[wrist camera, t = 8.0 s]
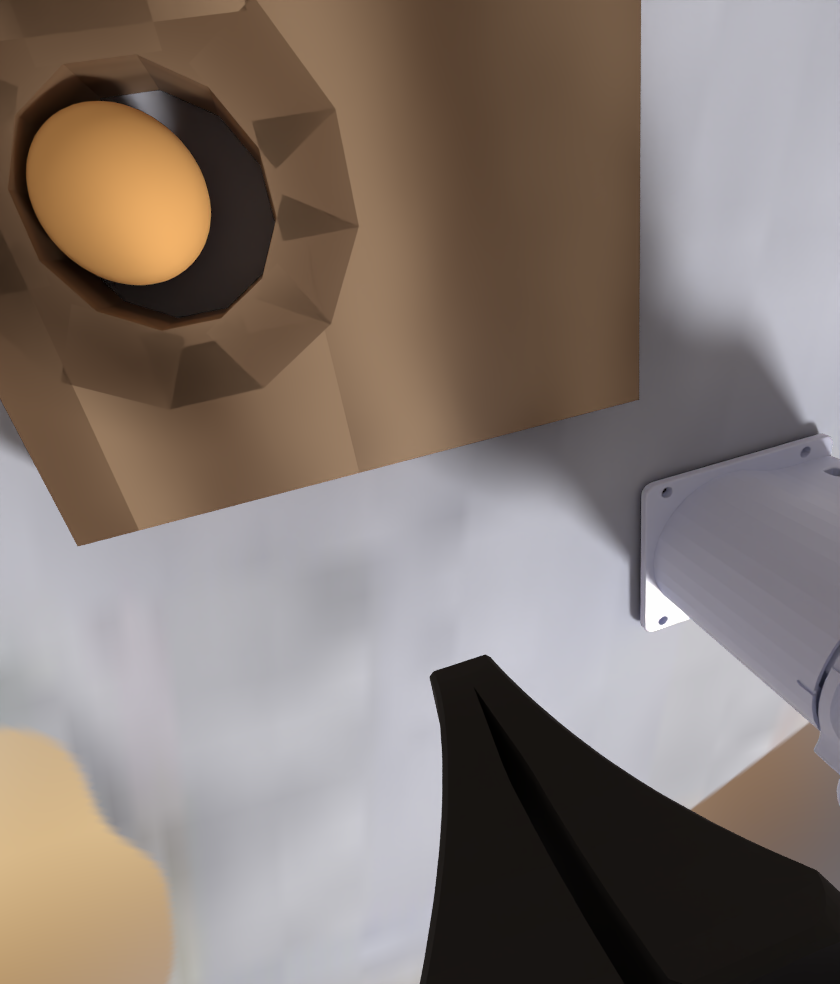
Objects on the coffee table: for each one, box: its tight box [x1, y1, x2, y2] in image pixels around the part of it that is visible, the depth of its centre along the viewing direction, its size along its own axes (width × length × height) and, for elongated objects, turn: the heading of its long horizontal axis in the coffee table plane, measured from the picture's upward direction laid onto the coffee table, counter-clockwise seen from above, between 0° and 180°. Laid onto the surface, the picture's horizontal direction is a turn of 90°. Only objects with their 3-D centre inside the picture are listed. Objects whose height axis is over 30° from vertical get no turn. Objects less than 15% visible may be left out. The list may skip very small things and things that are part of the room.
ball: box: [26, 101, 211, 285], centre depth 14 cm, size 4×4×4 cm
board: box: [0, 0, 641, 546], centre depth 15 cm, size 18×16×3 cm
